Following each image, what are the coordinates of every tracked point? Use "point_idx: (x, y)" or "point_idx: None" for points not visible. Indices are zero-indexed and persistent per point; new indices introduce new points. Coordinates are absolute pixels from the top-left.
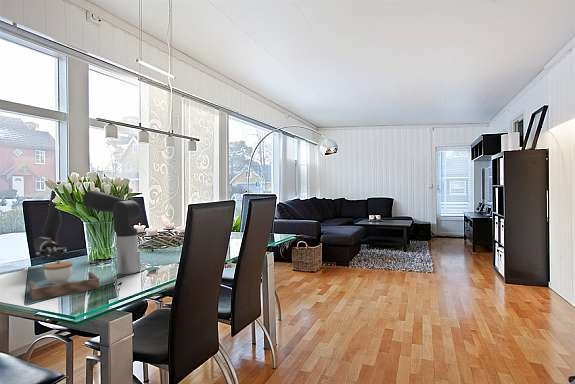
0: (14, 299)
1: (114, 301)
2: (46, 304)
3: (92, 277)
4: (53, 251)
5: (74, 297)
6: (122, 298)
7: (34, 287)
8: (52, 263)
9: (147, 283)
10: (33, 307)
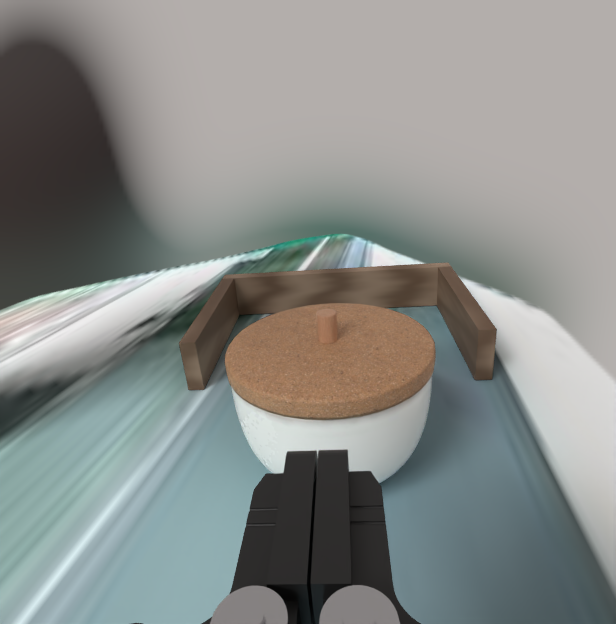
0: (520, 322)
1: (258, 251)
2: None
3: (224, 300)
4: (313, 482)
5: None
6: (235, 256)
7: (443, 270)
8: (367, 369)
9: (99, 299)
10: None
